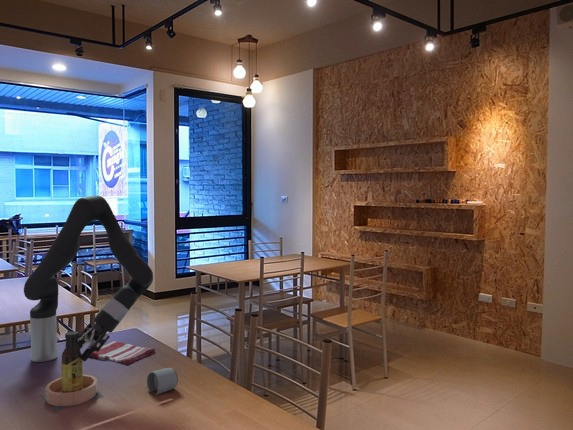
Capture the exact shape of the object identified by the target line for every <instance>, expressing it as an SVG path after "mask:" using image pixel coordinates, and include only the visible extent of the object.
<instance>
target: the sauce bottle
mask: <svg viewBox="0 0 573 430" xmlns="http://www.w3.org/2000/svg"><path fill="white" fill-rule="evenodd" d="M79 334H80V333H79V331H76V330H75V331H74V330H73V331H68V332H65V334H64V338H65V348H64V350H63V351H62V353H61V378H62V393H68V392H75V391H79V390H82V387H83V375H82V374H83V373H84V372H83V360H81V359H80V356H81V355H82V354H83V353H82V351H81V349H79V346H78V337H79Z"/></svg>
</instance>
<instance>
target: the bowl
mask: <svg viewBox="0 0 573 430" xmlns="http://www.w3.org/2000/svg"><path fill="white" fill-rule="evenodd" d="M82 375H83V387H82V390H79V391H75V392H68V393H62V377H58V378H56V379H54V380H52V381H51V382H48V383H47V385H46V387H45V388H44V389H45V392H44V394H45V399H46V401H47V402H46V401H45V402H46V403H47V404H48V405H49V404H50V405H52V406H57V407H67V406H72V407H75V406H74V405H76V406H79V405H82V404H86V403H88V402H87V401H89V400H91V399H92V398H94V397H95V396H96V394H97V391H98V384H99V383H98V379H97V378H96V377H95V376H94V375H91V374H83V373H82ZM85 402H86V403H85ZM89 402H90V401H89ZM78 404H79V405H78ZM50 405H49V406H50Z"/></svg>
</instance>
